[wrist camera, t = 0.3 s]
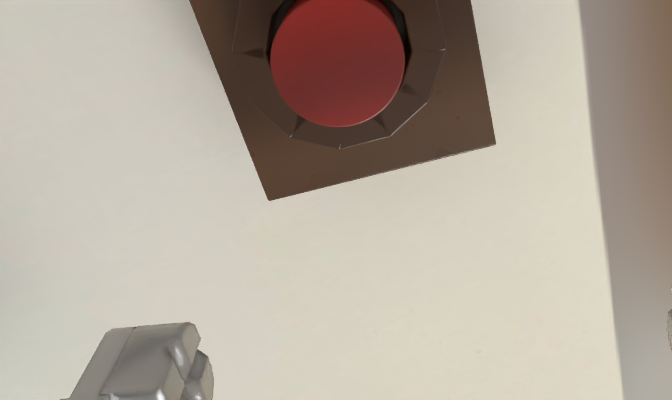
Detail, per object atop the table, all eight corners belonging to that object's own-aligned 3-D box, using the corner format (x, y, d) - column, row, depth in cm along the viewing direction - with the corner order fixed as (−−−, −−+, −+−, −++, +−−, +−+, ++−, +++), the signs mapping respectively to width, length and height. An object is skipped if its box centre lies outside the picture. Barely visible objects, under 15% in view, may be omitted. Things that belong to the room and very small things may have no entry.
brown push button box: (193, -98, 26) (133, -87, 19) (419, -175, 24) (446, -194, 17) (282, 146, 31) (262, 225, 24) (471, 97, 30) (507, 166, 23)
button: (259, 4, 20) (250, 17, 19) (383, -34, 20) (386, -24, 18) (299, 120, 22) (294, 141, 21) (412, 89, 22) (418, 109, 20)
